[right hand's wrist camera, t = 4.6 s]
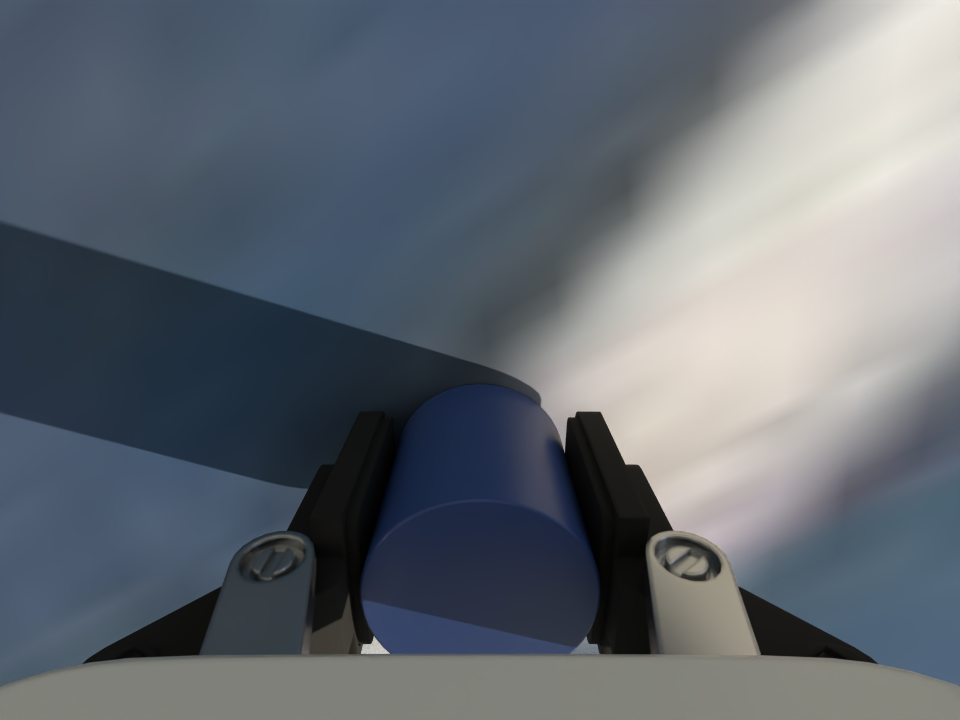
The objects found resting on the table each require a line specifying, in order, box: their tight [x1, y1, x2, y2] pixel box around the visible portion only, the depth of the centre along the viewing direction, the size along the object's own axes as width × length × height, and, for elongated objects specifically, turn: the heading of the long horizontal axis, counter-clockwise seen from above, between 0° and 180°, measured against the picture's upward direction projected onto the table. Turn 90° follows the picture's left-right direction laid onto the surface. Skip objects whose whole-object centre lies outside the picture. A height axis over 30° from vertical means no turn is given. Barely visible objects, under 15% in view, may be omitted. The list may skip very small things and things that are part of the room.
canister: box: [359, 384, 601, 654], centre depth 11 cm, size 4×4×4 cm
